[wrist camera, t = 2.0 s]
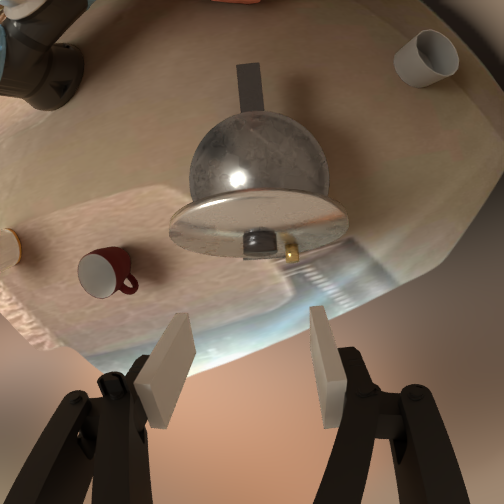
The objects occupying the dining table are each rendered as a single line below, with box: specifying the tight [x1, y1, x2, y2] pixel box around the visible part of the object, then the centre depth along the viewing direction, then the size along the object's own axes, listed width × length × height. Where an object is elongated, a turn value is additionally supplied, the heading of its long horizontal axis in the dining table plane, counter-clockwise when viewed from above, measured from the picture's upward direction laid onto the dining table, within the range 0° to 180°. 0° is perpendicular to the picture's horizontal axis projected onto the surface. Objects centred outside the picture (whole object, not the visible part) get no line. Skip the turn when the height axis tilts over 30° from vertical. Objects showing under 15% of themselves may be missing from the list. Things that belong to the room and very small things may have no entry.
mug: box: [78, 247, 139, 299], centre depth 52 cm, size 10×8×10 cm
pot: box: [189, 63, 329, 202], centre depth 45 cm, size 28×19×10 cm
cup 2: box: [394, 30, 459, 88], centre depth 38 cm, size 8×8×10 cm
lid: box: [169, 188, 349, 263], centre depth 34 cm, size 20×19×3 cm
